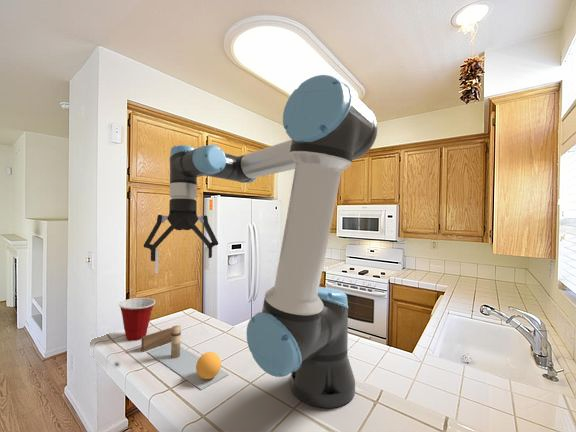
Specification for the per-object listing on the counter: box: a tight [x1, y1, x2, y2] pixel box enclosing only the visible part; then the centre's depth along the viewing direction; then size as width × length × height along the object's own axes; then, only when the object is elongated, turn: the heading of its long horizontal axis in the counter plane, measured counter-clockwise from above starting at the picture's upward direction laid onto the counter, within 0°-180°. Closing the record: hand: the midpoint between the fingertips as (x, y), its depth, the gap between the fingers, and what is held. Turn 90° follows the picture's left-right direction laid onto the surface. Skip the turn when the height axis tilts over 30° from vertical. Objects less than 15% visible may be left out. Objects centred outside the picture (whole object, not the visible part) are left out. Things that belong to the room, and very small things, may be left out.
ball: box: [196, 351, 222, 379], centre depth 65 cm, size 6×6×6 cm
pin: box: [170, 325, 182, 358], centre depth 75 cm, size 2×2×8 cm
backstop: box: [140, 327, 172, 353], centre depth 82 cm, size 2×9×4 cm, turn 142°
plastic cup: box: [118, 297, 156, 342], centre depth 88 cm, size 11×11×12 cm
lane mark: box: [146, 342, 230, 391], centre depth 72 cm, size 28×8×1 cm, turn 52°
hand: (182, 271), depth 77 cm, fingers open, 13 cm apart
